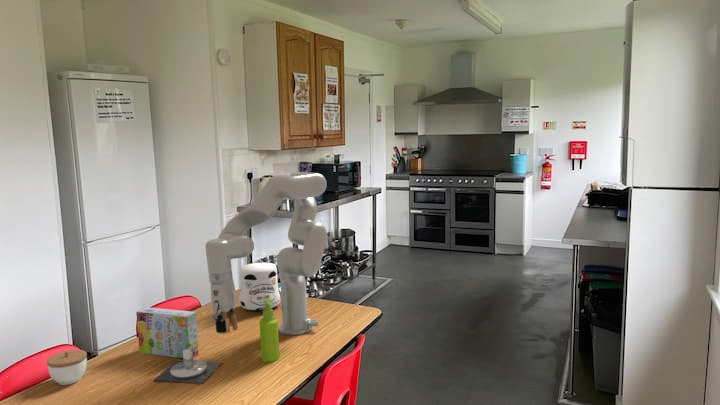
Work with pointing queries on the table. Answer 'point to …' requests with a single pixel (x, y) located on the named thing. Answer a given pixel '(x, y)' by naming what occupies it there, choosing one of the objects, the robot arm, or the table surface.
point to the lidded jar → (67, 366)
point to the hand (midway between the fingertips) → (226, 326)
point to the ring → (229, 321)
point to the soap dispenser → (269, 334)
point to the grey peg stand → (188, 370)
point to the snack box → (167, 331)
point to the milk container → (258, 286)
